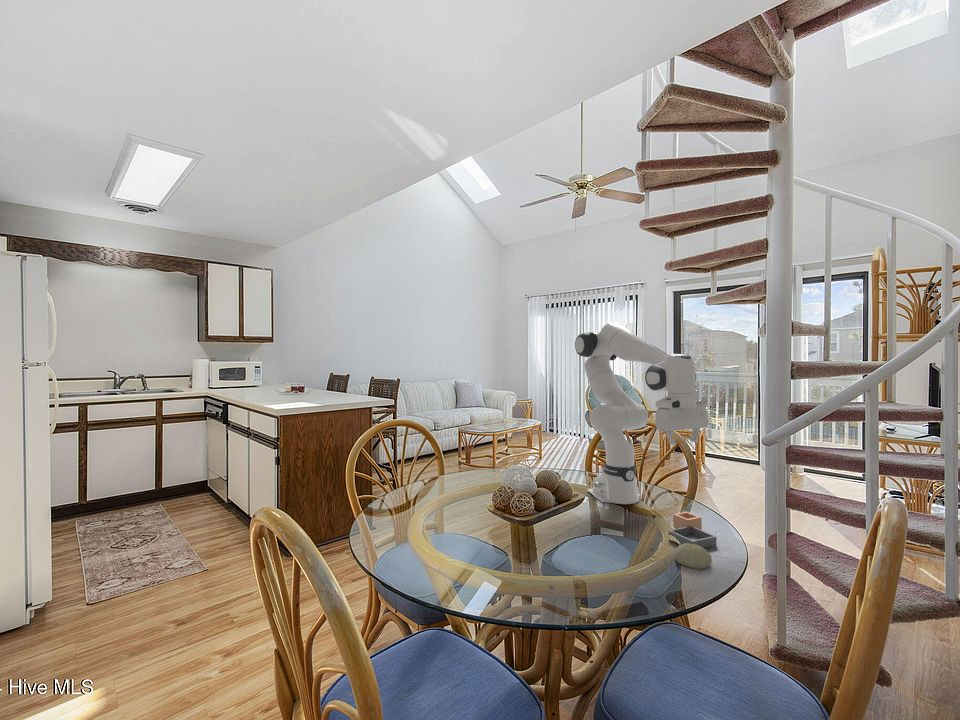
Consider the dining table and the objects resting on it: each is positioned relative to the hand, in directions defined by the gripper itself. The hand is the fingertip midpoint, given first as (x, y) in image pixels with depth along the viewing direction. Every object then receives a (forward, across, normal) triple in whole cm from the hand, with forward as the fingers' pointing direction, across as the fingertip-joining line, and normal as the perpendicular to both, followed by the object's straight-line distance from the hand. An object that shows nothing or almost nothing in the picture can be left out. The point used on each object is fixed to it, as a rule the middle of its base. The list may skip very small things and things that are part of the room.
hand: (683, 442), depth 148 cm
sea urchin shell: (+30, +18, +19) cm, 39 cm away
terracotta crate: (+29, +1, +1) cm, 29 cm away
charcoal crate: (+29, +7, +9) cm, 31 cm away
